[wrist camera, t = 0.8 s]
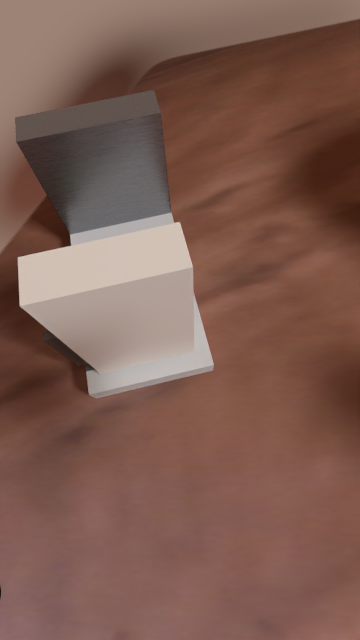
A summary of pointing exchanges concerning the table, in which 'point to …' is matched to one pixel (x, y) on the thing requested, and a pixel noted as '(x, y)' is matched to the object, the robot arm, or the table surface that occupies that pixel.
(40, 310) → the cream upright slab
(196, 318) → the base
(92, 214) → the brushed steel plate
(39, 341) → the table surface
